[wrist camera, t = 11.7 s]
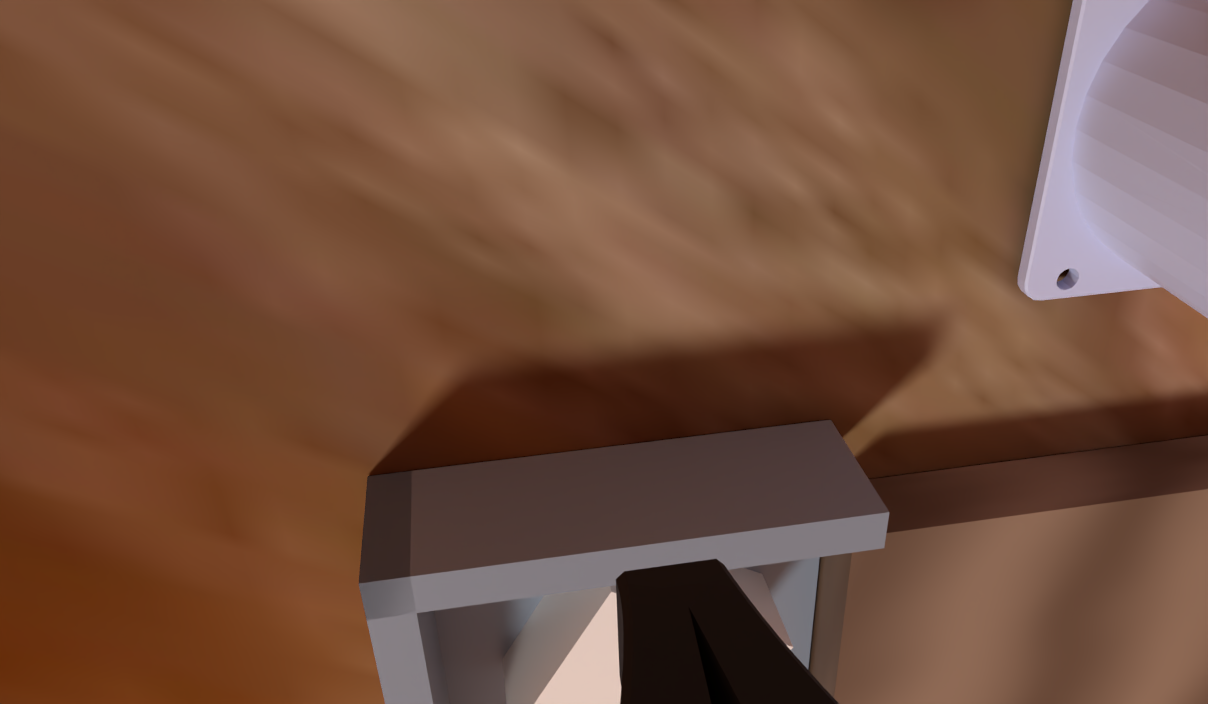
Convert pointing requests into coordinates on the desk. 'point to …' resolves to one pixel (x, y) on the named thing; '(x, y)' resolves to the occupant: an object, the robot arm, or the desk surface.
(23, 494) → the desk surface
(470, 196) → the desk surface
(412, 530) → the box
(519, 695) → the tile
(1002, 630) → the platform
